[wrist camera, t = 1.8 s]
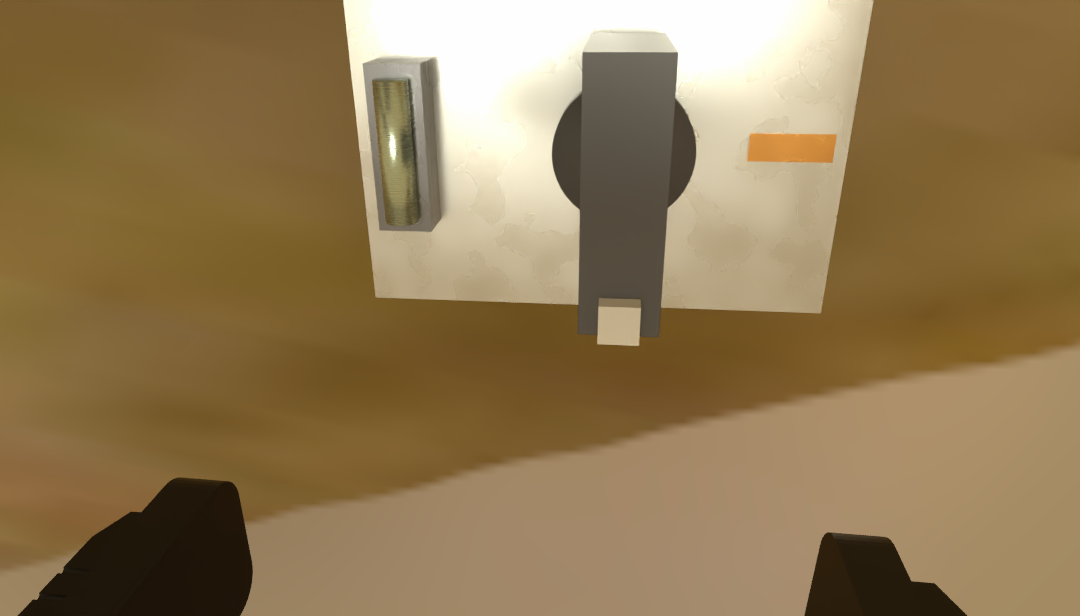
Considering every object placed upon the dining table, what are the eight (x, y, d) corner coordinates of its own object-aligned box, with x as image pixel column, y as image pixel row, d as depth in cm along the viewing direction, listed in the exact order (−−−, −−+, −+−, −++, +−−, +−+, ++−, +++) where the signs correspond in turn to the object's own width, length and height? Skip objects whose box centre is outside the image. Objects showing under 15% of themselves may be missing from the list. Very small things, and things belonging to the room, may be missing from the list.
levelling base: (365, -48, 28) (310, -51, 23) (855, -52, 26) (910, -56, 21) (395, 270, 34) (356, 323, 29) (803, 283, 32) (837, 342, 27)
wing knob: (555, 29, 26) (528, 54, 18) (701, 29, 25) (734, 55, 18) (555, 246, 29) (532, 341, 22) (684, 250, 29) (705, 348, 21)
